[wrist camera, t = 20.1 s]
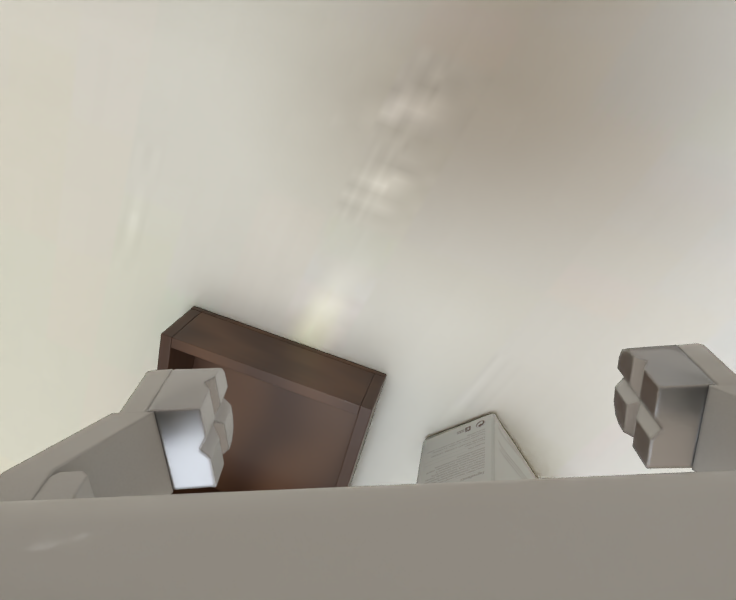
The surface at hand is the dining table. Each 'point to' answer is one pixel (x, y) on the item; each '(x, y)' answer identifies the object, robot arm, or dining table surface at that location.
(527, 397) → the dining table surface
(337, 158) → the dining table surface
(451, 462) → the cosmetic box
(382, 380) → the crate
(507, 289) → the dining table surface
